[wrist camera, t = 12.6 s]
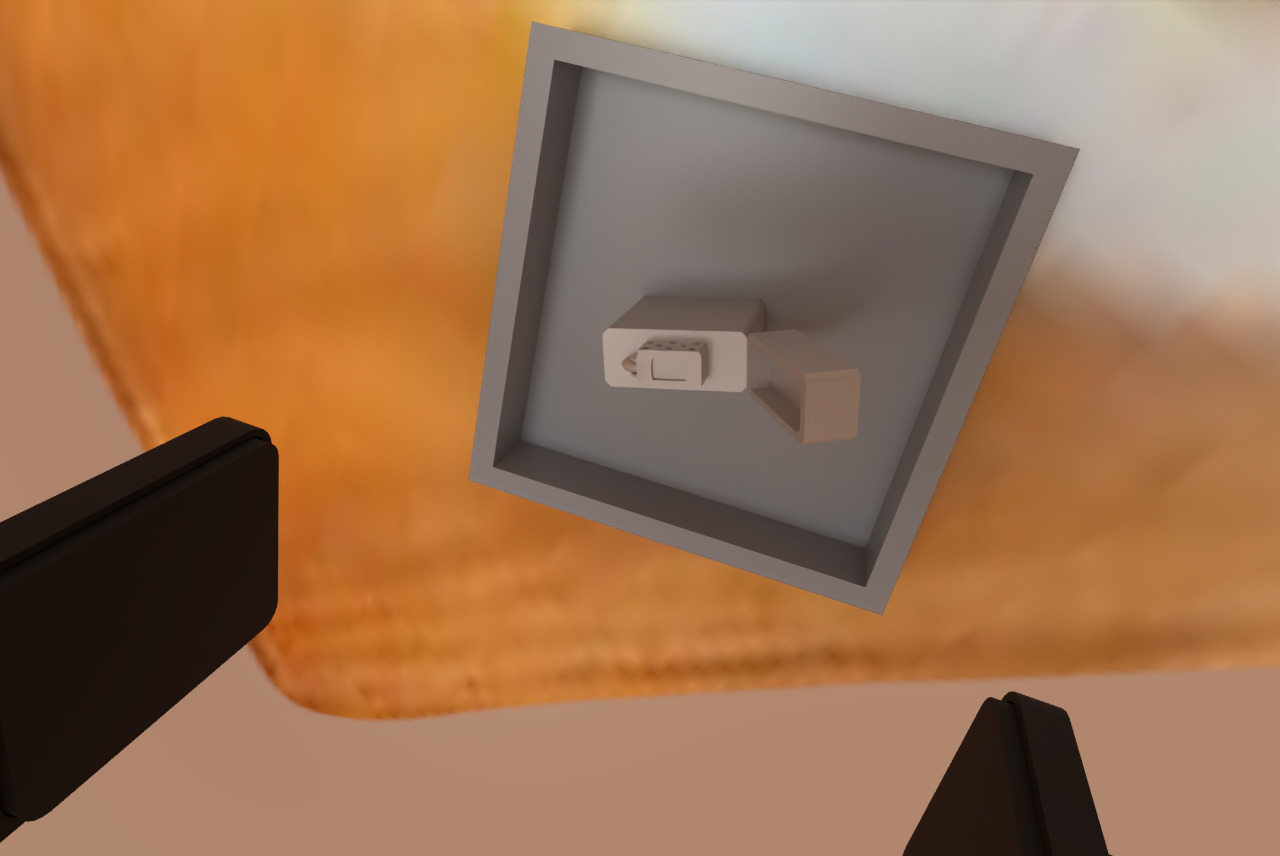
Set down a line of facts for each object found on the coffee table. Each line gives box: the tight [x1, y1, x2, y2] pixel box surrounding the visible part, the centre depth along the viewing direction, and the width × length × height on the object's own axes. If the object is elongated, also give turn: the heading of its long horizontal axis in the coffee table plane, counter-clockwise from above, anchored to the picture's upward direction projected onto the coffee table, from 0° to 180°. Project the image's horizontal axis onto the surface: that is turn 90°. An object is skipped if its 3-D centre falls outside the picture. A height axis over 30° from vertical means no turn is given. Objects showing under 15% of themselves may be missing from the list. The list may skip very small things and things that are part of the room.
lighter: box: [602, 296, 861, 445], centre depth 22 cm, size 7×2×8 cm, turn 92°
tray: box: [469, 22, 1080, 615], centre depth 25 cm, size 15×15×3 cm
